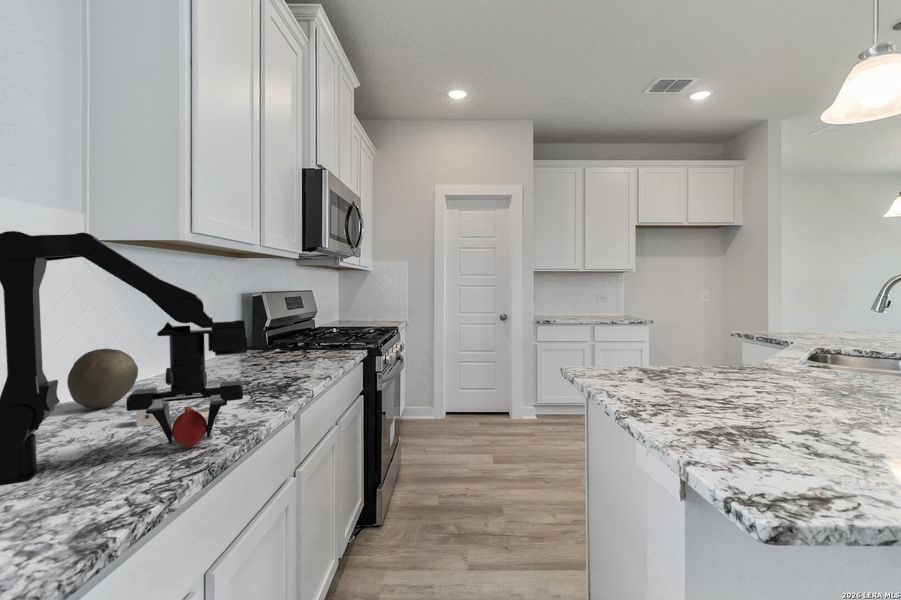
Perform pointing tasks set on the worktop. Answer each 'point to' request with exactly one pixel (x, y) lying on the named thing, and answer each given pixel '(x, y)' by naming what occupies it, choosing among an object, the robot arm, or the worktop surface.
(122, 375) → the cantaloupe
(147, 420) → the die
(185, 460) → the worktop surface
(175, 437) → the onion
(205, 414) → the track
